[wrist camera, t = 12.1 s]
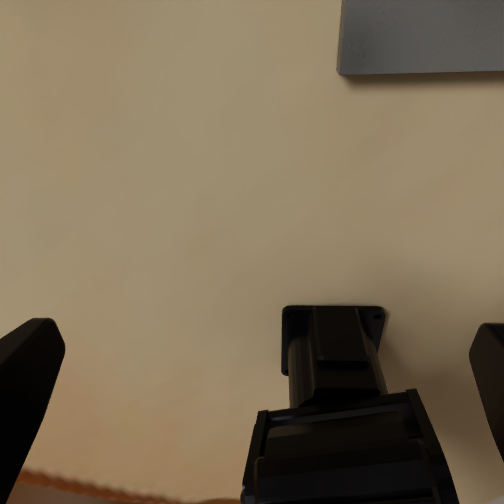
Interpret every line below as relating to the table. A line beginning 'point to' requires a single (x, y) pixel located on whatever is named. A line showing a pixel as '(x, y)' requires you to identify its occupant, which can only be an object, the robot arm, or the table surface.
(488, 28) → the port
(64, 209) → the table surface
